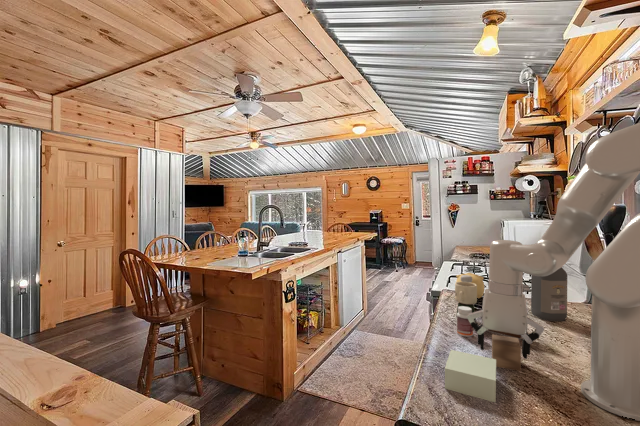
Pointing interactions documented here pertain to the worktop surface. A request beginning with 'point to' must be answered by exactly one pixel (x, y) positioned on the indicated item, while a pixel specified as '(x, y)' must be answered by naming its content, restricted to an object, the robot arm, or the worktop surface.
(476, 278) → the sculpture
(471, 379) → the sage block
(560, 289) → the liquor
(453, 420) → the worktop surface
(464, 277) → the salt shaker
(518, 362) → the walnut block
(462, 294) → the character mug
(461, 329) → the pill bottle
